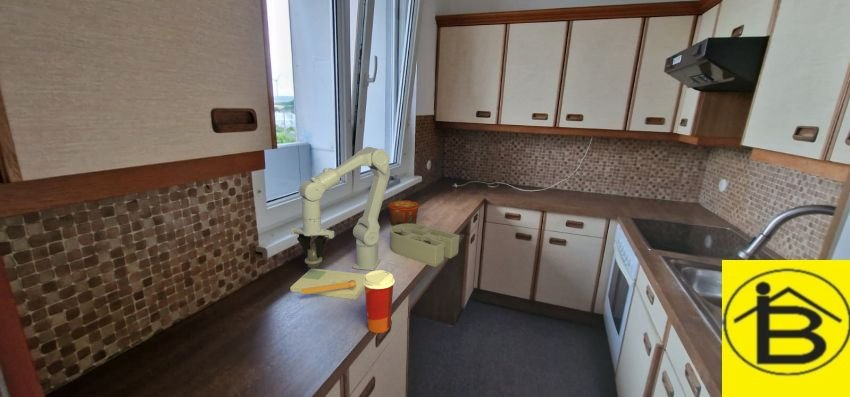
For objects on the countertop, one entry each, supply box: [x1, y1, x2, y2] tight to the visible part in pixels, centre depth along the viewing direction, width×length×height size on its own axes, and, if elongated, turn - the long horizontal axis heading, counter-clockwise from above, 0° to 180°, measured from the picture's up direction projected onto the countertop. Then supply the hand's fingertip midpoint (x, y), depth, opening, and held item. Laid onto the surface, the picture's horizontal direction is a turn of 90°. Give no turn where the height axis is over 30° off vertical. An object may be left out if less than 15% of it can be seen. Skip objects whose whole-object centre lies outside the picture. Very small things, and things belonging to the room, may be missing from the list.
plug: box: [304, 246, 323, 269], centre depth 119 cm, size 6×6×6 cm
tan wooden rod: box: [301, 280, 356, 295], centre depth 109 cm, size 2×16×1 cm, turn 112°
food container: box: [387, 199, 420, 227], centre depth 181 cm, size 16×16×11 cm
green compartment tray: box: [389, 223, 461, 268], centre depth 146 cm, size 17×28×9 cm, turn 53°
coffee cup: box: [363, 269, 396, 334], centre depth 94 cm, size 8×8×15 cm
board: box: [289, 268, 367, 300], centre depth 117 cm, size 14×22×2 cm, turn 80°
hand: (313, 255), depth 119 cm, fingers closed on plug, 4 cm apart
